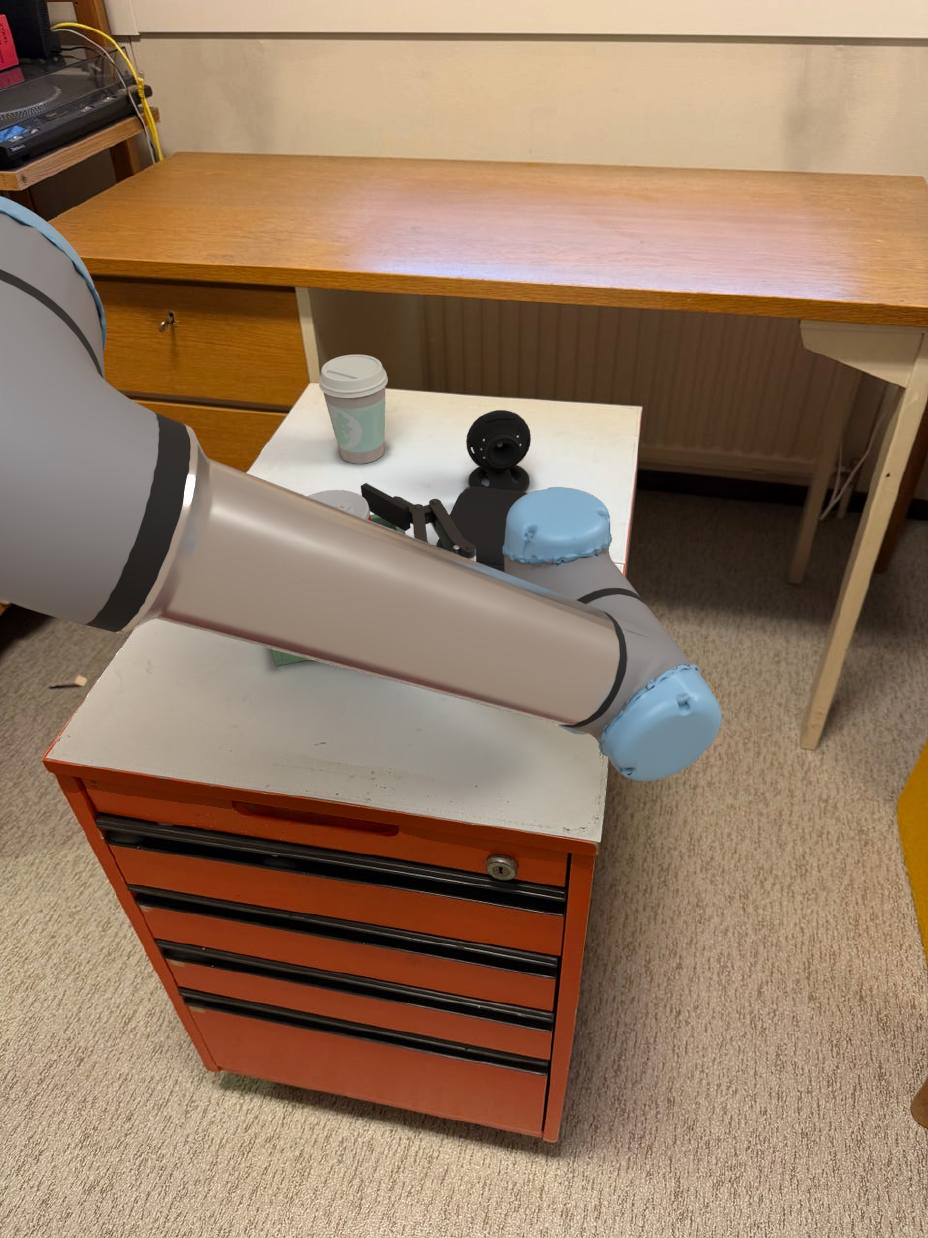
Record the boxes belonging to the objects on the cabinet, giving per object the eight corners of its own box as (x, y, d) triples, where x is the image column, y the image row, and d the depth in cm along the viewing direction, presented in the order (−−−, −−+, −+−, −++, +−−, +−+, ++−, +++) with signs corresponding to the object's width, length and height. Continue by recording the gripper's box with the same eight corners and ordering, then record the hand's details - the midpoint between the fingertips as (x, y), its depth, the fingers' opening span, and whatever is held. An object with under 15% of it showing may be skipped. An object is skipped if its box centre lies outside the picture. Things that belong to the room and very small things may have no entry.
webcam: (472, 505, 106) (470, 430, 99) (463, 472, 112) (460, 400, 105) (536, 497, 107) (537, 423, 100) (523, 466, 112) (524, 393, 106)
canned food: (394, 588, 93) (384, 501, 86) (348, 632, 88) (333, 543, 81) (338, 566, 97) (324, 480, 90) (290, 607, 92) (271, 520, 85)
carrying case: (525, 586, 94) (549, 509, 105) (526, 563, 92) (550, 488, 103) (429, 574, 96) (462, 500, 107) (427, 551, 94) (461, 478, 105)
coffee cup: (321, 446, 118) (308, 361, 110) (381, 430, 120) (372, 346, 113) (342, 476, 112) (329, 388, 104) (404, 459, 115) (396, 373, 107)
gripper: (362, 722, 73) (217, 611, 85) (554, 582, 86) (406, 502, 98) (352, 656, 68) (199, 548, 80) (557, 518, 81) (401, 442, 93)
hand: (313, 523), depth 89 cm, fingers open, 13 cm apart
